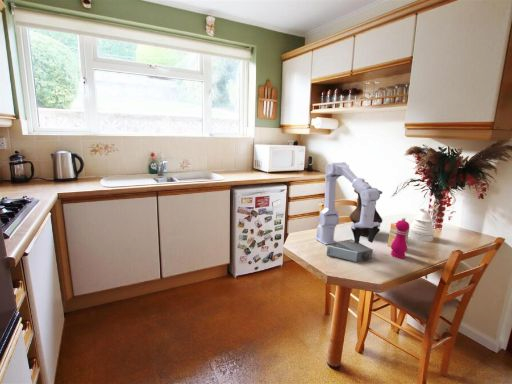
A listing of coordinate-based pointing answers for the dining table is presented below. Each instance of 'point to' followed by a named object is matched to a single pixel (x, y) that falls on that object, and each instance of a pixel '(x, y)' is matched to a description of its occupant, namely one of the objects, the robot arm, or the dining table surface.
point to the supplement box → (394, 234)
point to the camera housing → (356, 249)
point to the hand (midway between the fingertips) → (363, 242)
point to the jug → (357, 213)
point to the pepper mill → (400, 239)
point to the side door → (342, 253)
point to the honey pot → (422, 227)
